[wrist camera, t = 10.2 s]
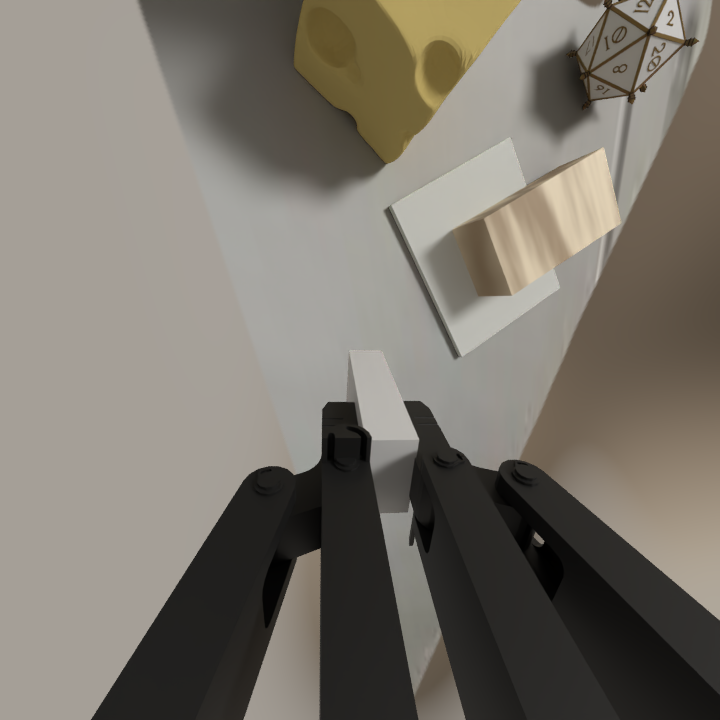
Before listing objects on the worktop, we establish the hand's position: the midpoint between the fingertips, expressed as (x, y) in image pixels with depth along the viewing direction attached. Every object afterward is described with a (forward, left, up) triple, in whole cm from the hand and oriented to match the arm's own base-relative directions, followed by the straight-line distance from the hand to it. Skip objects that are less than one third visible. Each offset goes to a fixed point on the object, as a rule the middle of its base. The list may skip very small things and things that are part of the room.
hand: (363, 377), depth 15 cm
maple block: (-4, +16, -12) cm, 20 cm away
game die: (-21, +32, -15) cm, 41 cm away
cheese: (-21, +9, -15) cm, 27 cm away
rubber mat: (-5, +19, -15) cm, 24 cm away
